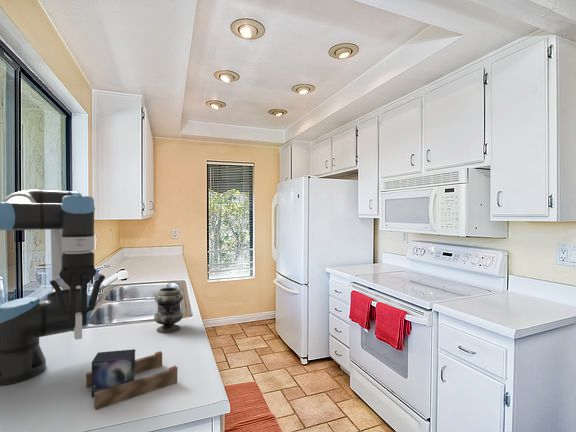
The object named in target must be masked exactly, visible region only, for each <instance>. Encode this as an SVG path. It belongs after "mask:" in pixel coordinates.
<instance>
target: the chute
mask: <svg viewBox="0 0 576 432" xmlns="http://www.w3.org/2000/svg"><path fill="white" fill-rule="evenodd" d="M160 367H163V352H162V351H160V350H159V351H157V352H154V354H151V355H148V356H144V357H141V358H135V375H136V374H140V373H143V372H147V371H150V370H155V369H158V368H160ZM177 383H178V367H177V366H176V365H173V366H170V367H169V368H168V369H167V370H163V371H159V372H157V373H154V374H151V375H147V376H145V377H139V378H137V379H135V380H134V381H130V382H127V383H124V384H120V385H117V386H114V387H110V388H107V389H104V390H101V391H97V392H94V397H93V400H94V403H93V405H94V406H93V407H94V410H95V411H96V410H99V409H103V408H106V407H108V406H111V405H113V404H117V403H120V402H124V401H127V400H129V399H132V398H135V397H138V396H142V395H143V394H147V393H149V392H153V391H155V390H160V389H162V388H165V387H168V386H171V385H173V384H174V385H175V384H177ZM85 387H86V389H89V388H92V370H91V371H88V372H86V373H85Z"/></svg>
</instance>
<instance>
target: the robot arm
mask: <svg viewBox="0 0 576 432" xmlns="http://www.w3.org/2000/svg"><path fill="white" fill-rule="evenodd" d="M95 210H96V207H95V199H94V197H92V196H89V195H83V194H82V193H80V192H78V191H71V190H47V189H28V190H27V189H26V190H25V189H24V190H19V191H16V192H13V193H11V194H9V195H7V196H5V197H4V199H3V200H2V202H0V231H6V232H8V231H9V232H10V231H27V230H29V231H31V230H35V231H36V230H50V253H51V254H50V255H51V257H50V259H51V260H50V262H51V278H50V279H49V285H51V288H52V289H51V290H50V291H49V292H48V294H47V295H46V300H41V299H40V297H38V296H26V297H20V298H17V299H14V300H10V301H7V302H6V301H5V302H4V303H0V386H6V385H11V384H16V383H19V382H23V381H26V380H29V379H30V378H33V377H36V376H38V375H39V374H41V373H42V372H43V371H44V370H45V369H46V368H47V361H46V360H47V359H46V356H45V355H44V353H43V351H42V348H41V346H40V338H43V337H48V336H53V335H58V334H63V333H70V332H73V335H74V336H73V337H74V340H76V341H77V340H81V339H83V329H85V328H87V327H88V326H89V324H90V322H91V317H92V311H94V309H95V308H96V303H97V300H98V296H99V292H100V288H101V287H102V286H101V285H102V283H103V281H105V280H106V276H105V275H104V274H102V273H99V272H97V269H96V268H95V252H94V250H95ZM92 279H93V280H94V284H93V287H92V291H91V294H89V293H88V284H89V283H90V282H91V281H92Z"/></svg>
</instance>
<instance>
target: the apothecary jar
mask: <svg viewBox="0 0 576 432" xmlns="http://www.w3.org/2000/svg"><path fill="white" fill-rule="evenodd" d="M183 300H184V294H183V293H181V292H180V288H179V287H177V286H176V287H175V286H173V287H172V286H169V287H168V286H167V287H162V288H160V289H159V290H158V294H156V295H155V297H154V302H155V303H157V309H156V310H157V312H156V313H155V314H154V316H153V320H154V321H155V322H156V323H157V324H159V325H161V326H158V327H157V329H156V332H157V333H160V334H170V333H171V332H172V333H175V331H176V332H178V331H179V330H180V329H181V327H180V325H178V324H177V323H178V322H180V321H181V320H182V319H183V316H184V313H183V312H182V311H181V302H182V301H183ZM177 330H178V331H177Z"/></svg>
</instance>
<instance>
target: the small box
mask: <svg viewBox="0 0 576 432" xmlns="http://www.w3.org/2000/svg"><path fill="white" fill-rule="evenodd" d="M135 360H136V349H133V348H132V349H125V350H124V349H123V350H112V351H110V350H109V351H102V352H99V351H98V352H97V353H96V354H95V356H94V358H93V359H92V361H91V371H92V387H91V398H94V392H97V391H101V390H104V389H107V388H110V387H114V386H117V385H120V384H124V383H127V382H130V381H134V380H136V377H135V376H136V374H135Z"/></svg>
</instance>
